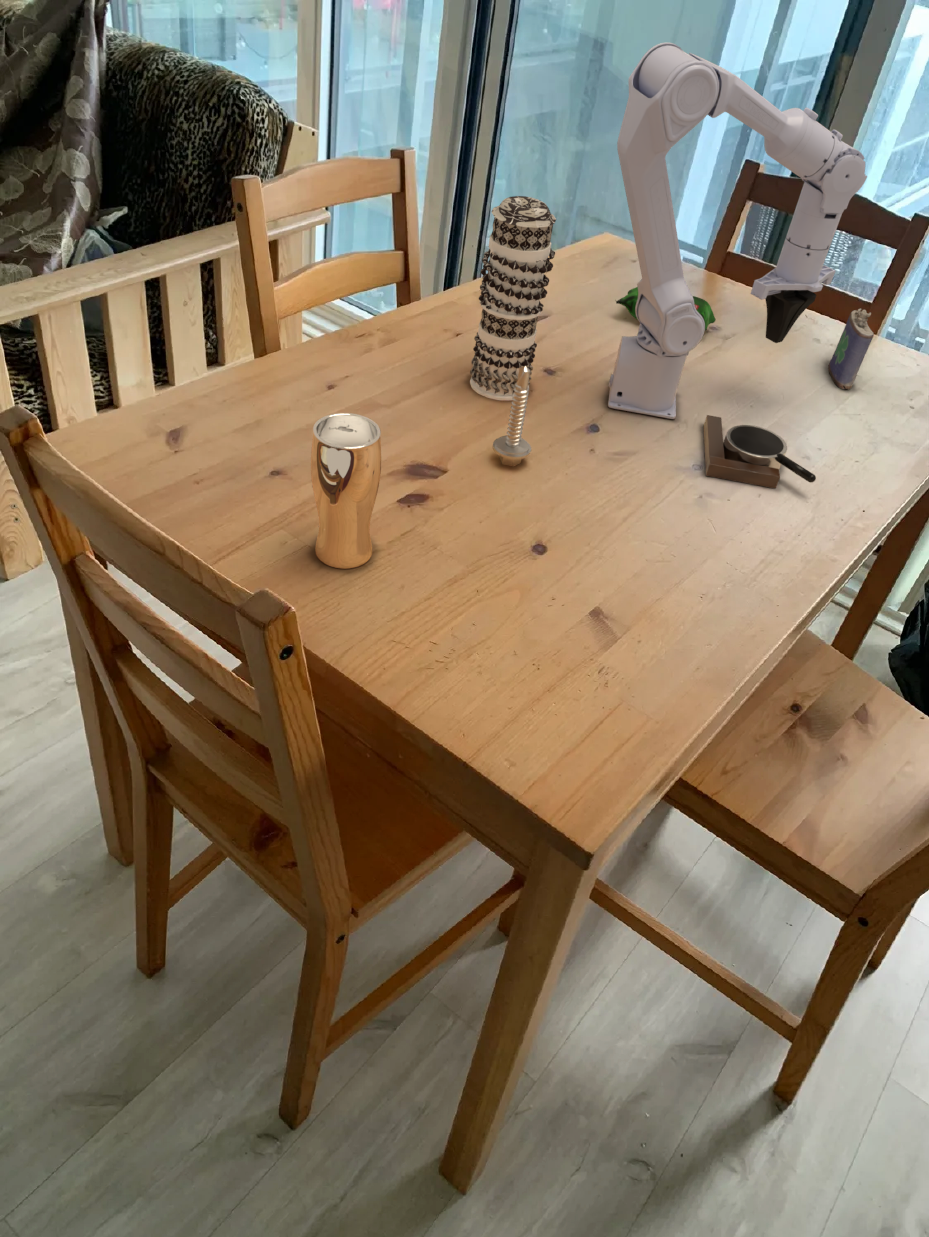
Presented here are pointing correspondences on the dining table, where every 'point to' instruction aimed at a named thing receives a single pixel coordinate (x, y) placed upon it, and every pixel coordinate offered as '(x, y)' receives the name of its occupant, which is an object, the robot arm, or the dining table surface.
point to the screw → (515, 425)
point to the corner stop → (730, 468)
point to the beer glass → (345, 486)
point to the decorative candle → (511, 294)
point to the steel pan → (760, 449)
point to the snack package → (699, 303)
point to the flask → (851, 349)
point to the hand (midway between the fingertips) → (773, 339)
